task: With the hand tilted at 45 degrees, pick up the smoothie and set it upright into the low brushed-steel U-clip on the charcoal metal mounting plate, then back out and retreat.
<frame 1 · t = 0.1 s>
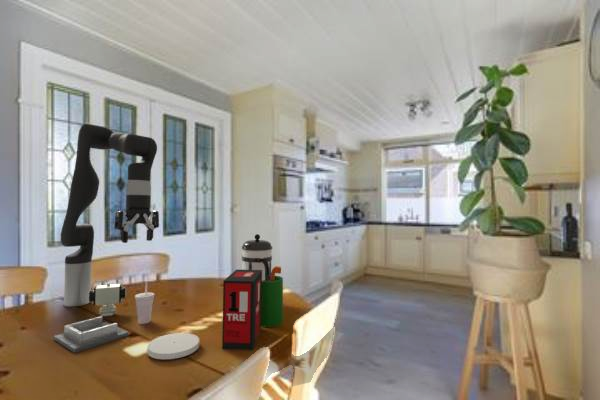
hand: (137, 241, 109), 29 cm above the table, tool pointing down, fingers open, 8 cm apart
pneumatic valve: (107, 315, 121), on the table
plastic lid: (173, 352, 93), on the table
green cylindrical container: (270, 322, 116), on the table
coffee press: (258, 307, 133), on the table
cleaning product box: (243, 338, 102), on the table
mount plate: (91, 337, 100), on the table
smoothie: (144, 322, 114), on the table
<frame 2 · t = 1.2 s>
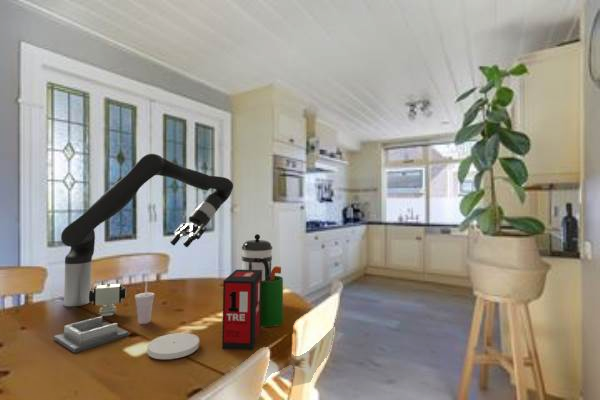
hand: (178, 244, 126), 26 cm above the table, tool tilted 45°, fingers open, 8 cm apart
nothing on the table moved.
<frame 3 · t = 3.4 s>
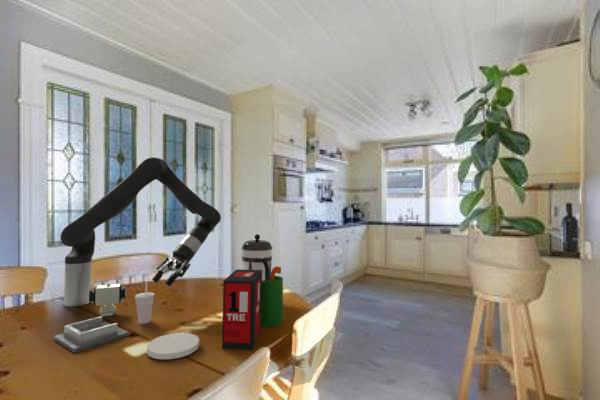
hand: (160, 282, 120), 13 cm above the table, tool tilted 45°, fingers open, 8 cm apart
nothing on the table moved.
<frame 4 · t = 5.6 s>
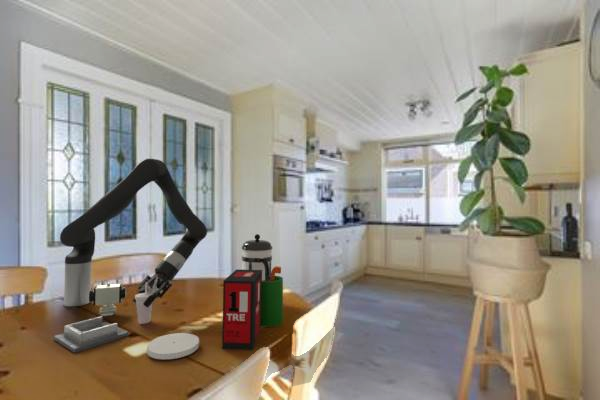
hand: (140, 303, 113), 7 cm above the table, tool tilted 45°, fingers closed on smoothie, 6 cm apart
smoothie: (144, 322, 114), on the table, touching gripper
everything else where it was.
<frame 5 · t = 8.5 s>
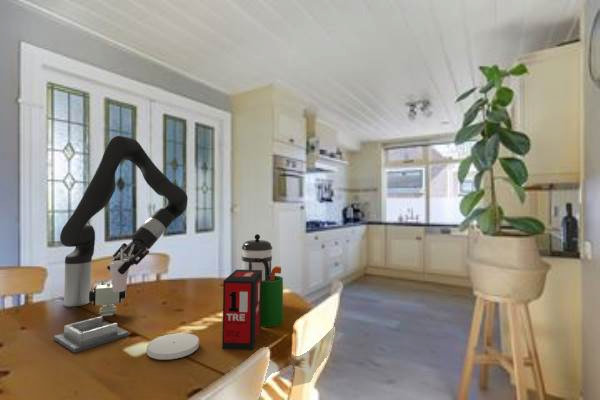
hand: (114, 271, 106), 20 cm above the table, tool tilted 45°, fingers closed on smoothie, 6 cm apart
smoothie: (119, 291, 107), point 13 cm above the table, touching gripper
everything else where it was.
when the fingers open (9 cm above the table, at t = 11.7 s): smoothie drops 1 cm, resting on mount plate.
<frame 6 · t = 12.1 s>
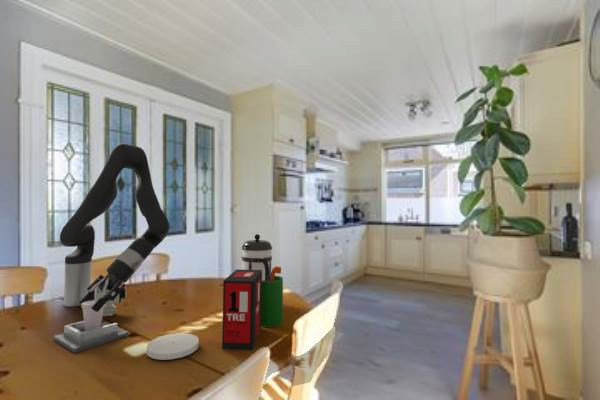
hand: (87, 307, 99), 10 cm above the table, tool tilted 45°, fingers open, 8 cm apart
smoothie: (92, 334, 101), point 1 cm above the table, touching mount plate
everything else where it was.
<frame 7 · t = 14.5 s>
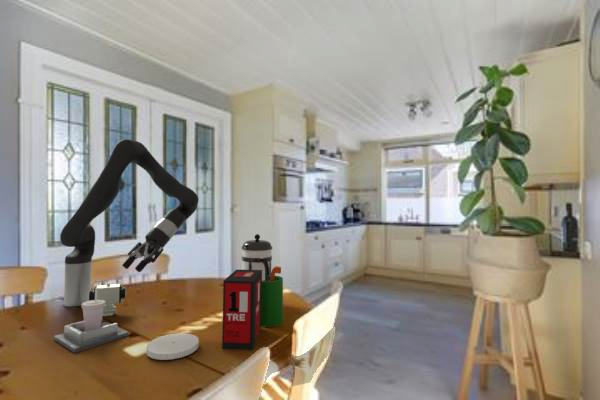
hand: (130, 268, 111), 20 cm above the table, tool tilted 45°, fingers open, 8 cm apart
nothing on the table moved.
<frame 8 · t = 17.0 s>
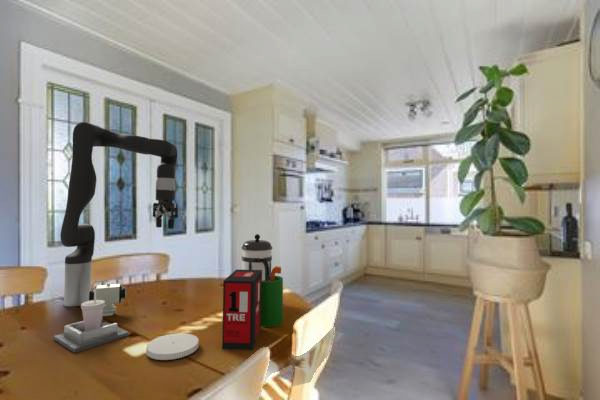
hand: (164, 228, 134), 32 cm above the table, tool pointing down, fingers open, 8 cm apart
nothing on the table moved.
at the end: smoothie 0.7 cm off-centre on the mount plate, point 1.0 cm above the mount plate's base; smoothie tilted 1°; the gripper is holding nothing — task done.
